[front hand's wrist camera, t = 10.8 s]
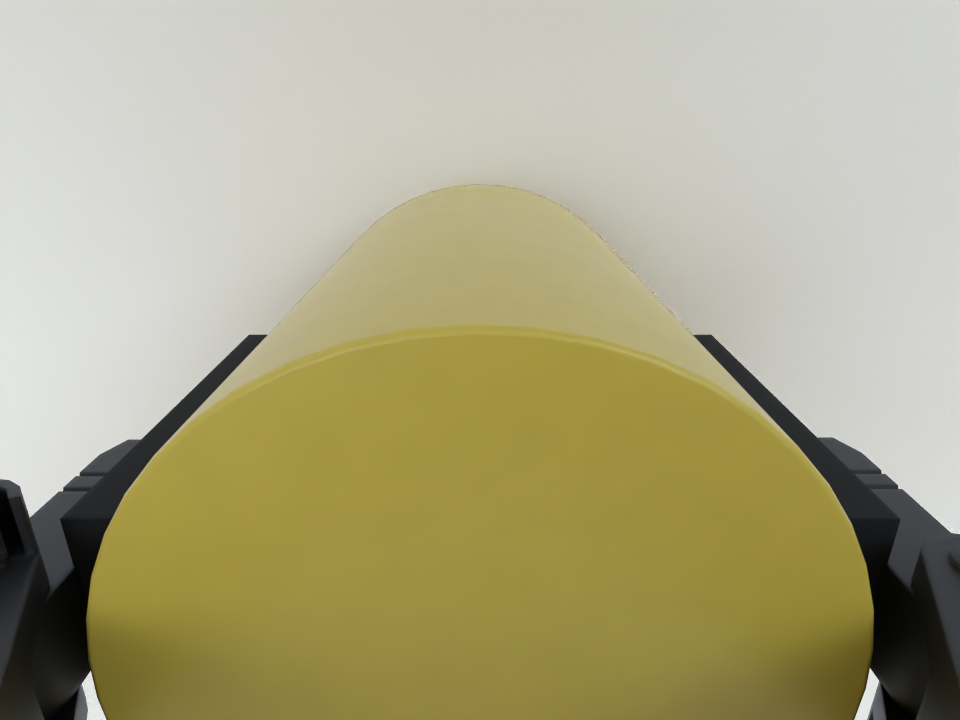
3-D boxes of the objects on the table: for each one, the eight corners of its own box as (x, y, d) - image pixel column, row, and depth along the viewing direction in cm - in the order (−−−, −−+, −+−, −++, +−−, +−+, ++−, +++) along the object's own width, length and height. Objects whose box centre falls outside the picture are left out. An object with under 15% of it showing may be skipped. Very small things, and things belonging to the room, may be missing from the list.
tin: (476, 107, 15) (467, 103, 5) (699, 341, 17) (1030, 688, 7) (261, 347, 17) (-65, 700, 7) (483, 526, 19) (487, 1000, 9)
